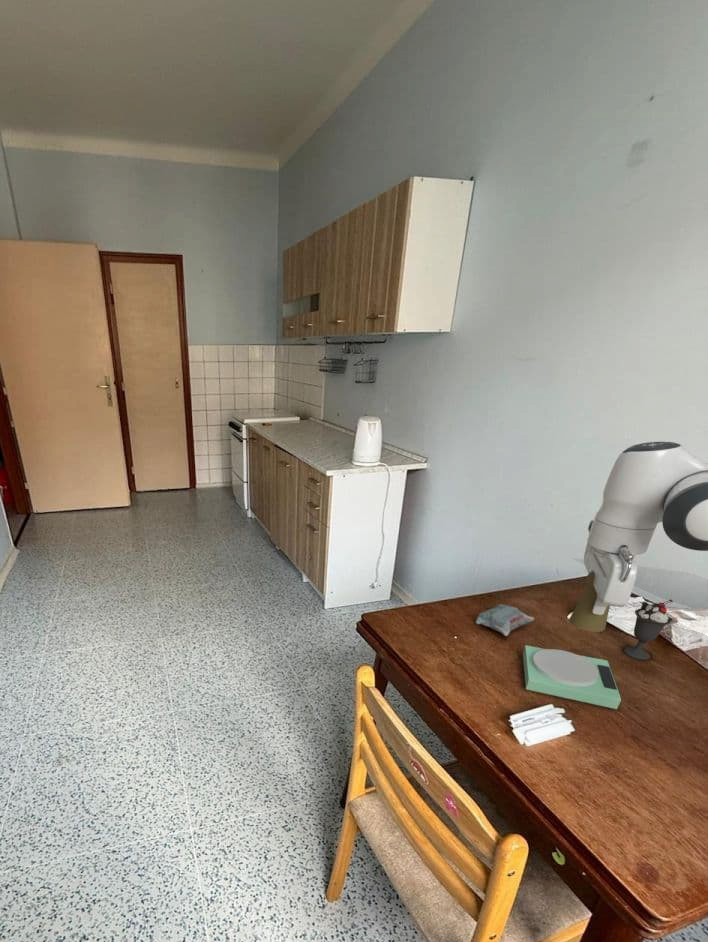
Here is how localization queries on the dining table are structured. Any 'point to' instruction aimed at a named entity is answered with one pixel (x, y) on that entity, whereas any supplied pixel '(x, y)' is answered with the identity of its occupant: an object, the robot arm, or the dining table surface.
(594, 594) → the dark olive tapered piece
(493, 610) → the packaged food
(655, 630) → the sundae
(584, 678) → the scale
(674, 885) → the dining table surface
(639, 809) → the dining table surface
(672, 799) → the dining table surface
